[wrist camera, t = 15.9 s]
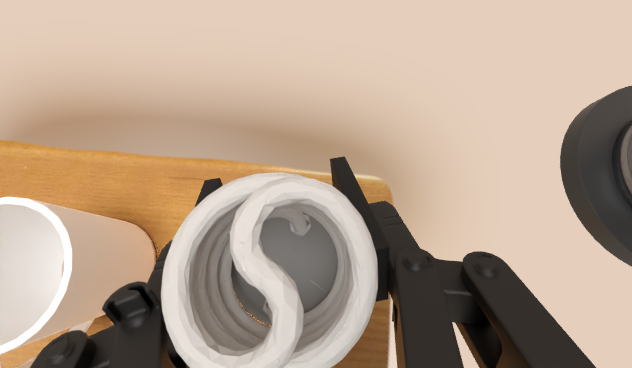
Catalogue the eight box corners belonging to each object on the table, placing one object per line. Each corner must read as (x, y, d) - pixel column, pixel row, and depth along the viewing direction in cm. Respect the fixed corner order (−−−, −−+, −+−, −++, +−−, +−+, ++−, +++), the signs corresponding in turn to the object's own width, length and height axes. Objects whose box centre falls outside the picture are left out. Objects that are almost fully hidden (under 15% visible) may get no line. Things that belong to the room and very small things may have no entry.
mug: (71, 217, 27) (-68, 198, 17) (166, 214, 28) (83, 194, 17) (51, 344, 25) (-125, 408, 15) (155, 340, 25) (52, 400, 15)
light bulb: (259, 207, 18) (164, 129, 7) (346, 220, 18) (409, 164, 6) (240, 301, 17) (81, 413, 5) (334, 315, 17) (387, 464, 5)
